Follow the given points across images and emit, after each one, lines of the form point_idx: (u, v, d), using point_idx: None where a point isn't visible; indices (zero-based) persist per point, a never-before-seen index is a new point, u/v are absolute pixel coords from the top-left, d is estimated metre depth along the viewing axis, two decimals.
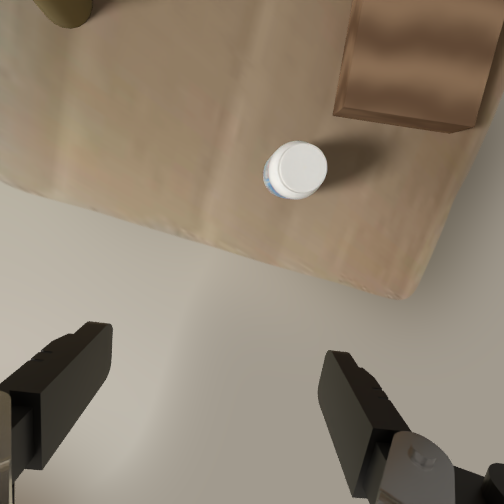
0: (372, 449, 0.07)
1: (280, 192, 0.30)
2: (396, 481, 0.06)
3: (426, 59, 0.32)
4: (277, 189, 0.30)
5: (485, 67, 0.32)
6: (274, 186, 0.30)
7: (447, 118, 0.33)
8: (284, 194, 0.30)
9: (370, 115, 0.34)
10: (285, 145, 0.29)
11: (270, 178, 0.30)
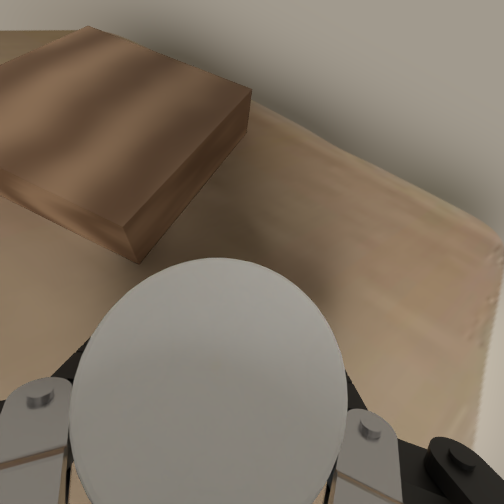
0: None
1: None
2: (340, 450, 0.06)
3: (126, 107, 0.20)
4: None
5: (180, 65, 0.23)
6: None
7: (226, 107, 0.21)
8: None
9: (169, 198, 0.18)
10: None
11: None
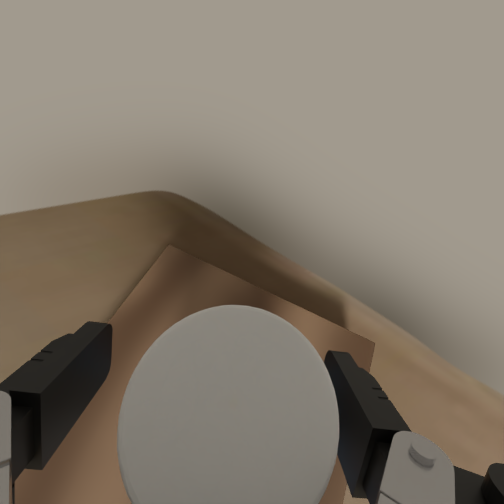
0: (372, 449, 0.07)
1: None
2: (396, 481, 0.06)
3: None
4: None
5: (286, 309, 0.19)
6: None
7: None
8: None
9: None
10: None
11: None
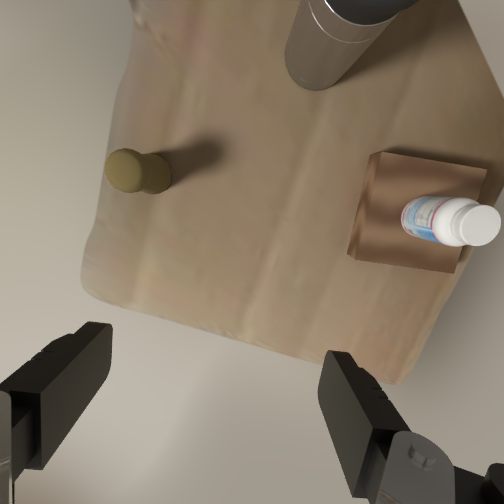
0: (372, 449, 0.07)
1: (444, 241, 0.34)
2: (396, 481, 0.06)
3: None
4: (442, 239, 0.34)
5: None
6: (439, 236, 0.34)
7: (433, 267, 0.44)
8: (448, 243, 0.34)
9: None
10: (454, 202, 0.33)
11: (436, 229, 0.34)
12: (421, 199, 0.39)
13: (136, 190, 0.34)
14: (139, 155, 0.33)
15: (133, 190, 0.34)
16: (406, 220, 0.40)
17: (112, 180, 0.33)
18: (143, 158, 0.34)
